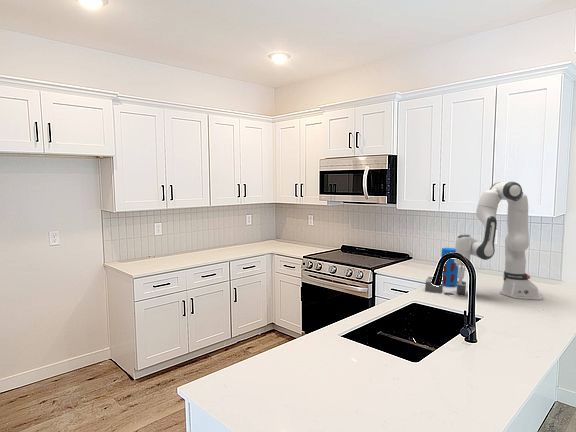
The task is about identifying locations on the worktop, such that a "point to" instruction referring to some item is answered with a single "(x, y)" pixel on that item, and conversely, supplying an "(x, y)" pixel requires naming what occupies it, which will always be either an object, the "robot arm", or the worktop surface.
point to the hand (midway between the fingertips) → (460, 282)
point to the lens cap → (448, 293)
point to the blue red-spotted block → (449, 270)
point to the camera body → (432, 288)
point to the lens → (461, 288)
